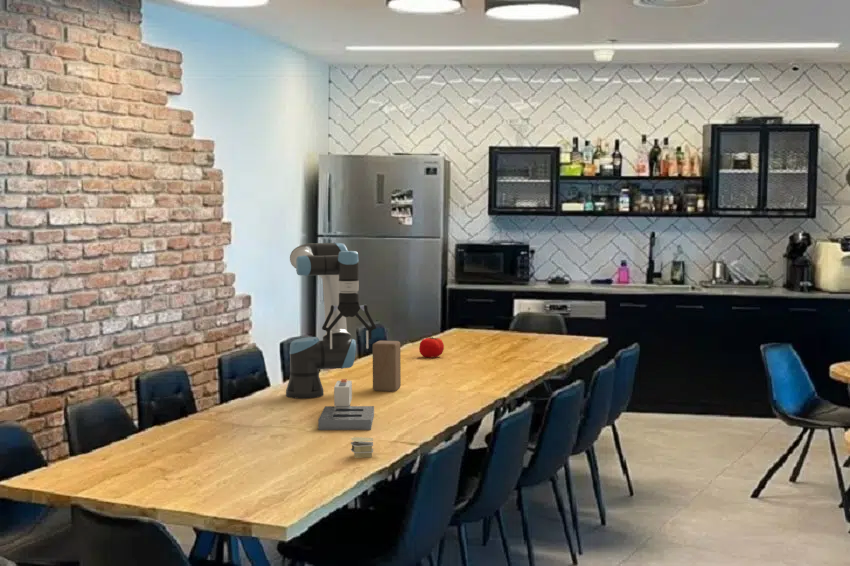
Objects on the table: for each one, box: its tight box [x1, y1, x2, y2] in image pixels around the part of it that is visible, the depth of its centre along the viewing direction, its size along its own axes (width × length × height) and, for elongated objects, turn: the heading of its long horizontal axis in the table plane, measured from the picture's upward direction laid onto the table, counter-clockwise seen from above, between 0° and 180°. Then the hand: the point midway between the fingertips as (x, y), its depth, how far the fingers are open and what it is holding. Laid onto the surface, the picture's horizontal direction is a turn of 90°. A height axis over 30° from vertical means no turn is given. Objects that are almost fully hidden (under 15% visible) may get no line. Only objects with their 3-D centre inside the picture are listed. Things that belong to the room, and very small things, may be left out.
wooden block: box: [372, 340, 402, 392], centre depth 435 cm, size 10×10×20 cm
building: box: [350, 436, 374, 459], centre depth 322 cm, size 10×9×6 cm
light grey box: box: [333, 378, 353, 406], centre depth 391 cm, size 6×14×11 cm, turn 0°
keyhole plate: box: [317, 405, 375, 431], centre depth 370 cm, size 18×24×4 cm
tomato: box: [418, 337, 445, 358], centre depth 525 cm, size 11×13×10 cm
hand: (349, 348), depth 392 cm, fingers open, 13 cm apart
